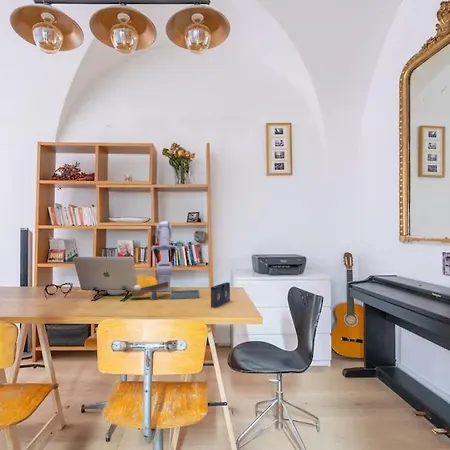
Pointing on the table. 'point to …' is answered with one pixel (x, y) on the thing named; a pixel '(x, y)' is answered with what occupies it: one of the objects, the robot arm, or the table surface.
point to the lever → (150, 289)
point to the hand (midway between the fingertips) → (164, 261)
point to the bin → (184, 294)
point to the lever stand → (154, 295)
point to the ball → (137, 288)
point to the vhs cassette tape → (220, 294)
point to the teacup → (115, 292)
